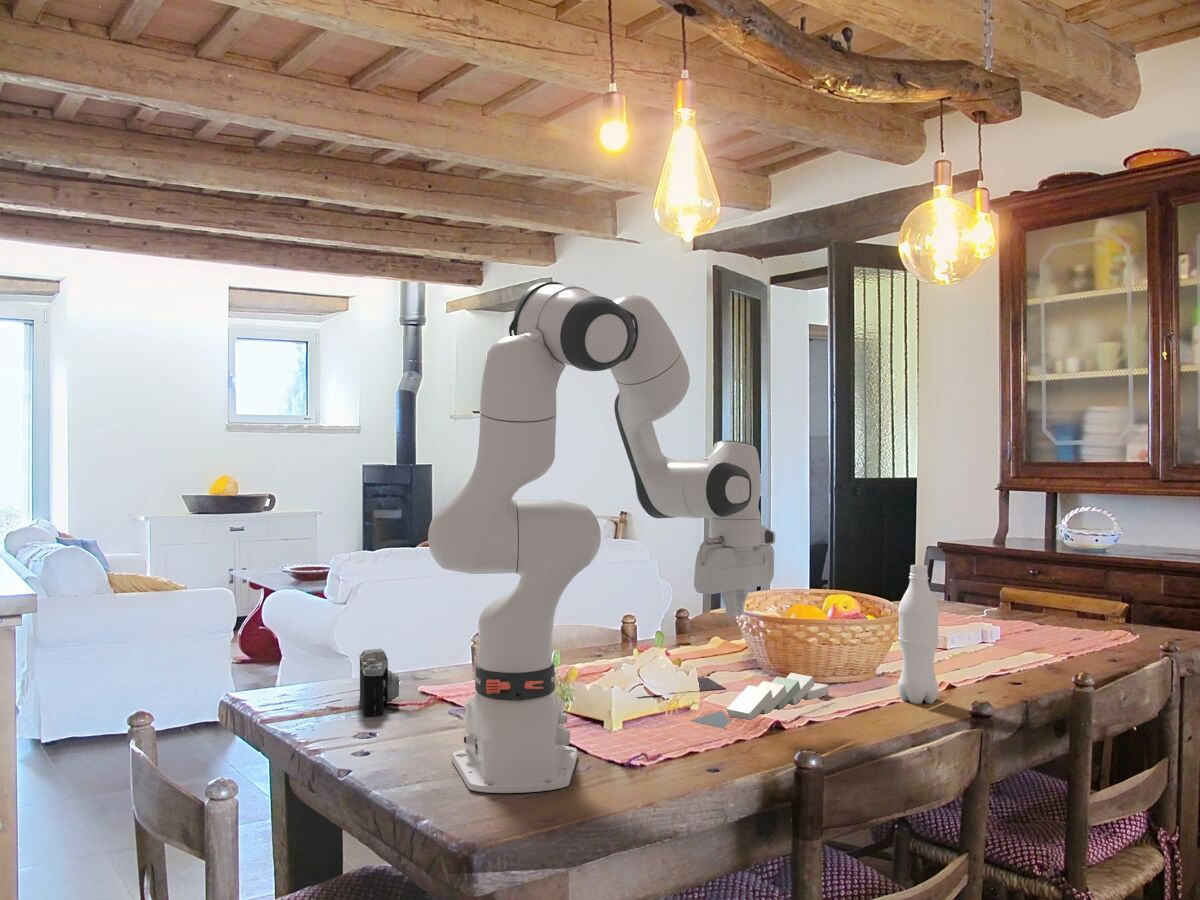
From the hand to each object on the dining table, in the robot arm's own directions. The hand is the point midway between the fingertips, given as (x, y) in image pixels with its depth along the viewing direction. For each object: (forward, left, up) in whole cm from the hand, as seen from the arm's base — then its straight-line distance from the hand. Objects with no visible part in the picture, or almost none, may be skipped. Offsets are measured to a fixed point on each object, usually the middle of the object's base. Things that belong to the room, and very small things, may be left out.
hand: (734, 615), depth 179 cm
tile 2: (0, -4, -17) cm, 17 cm away
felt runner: (+3, -6, -18) cm, 19 cm away
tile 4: (+6, -11, -17) cm, 21 cm away
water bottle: (+7, -36, -18) cm, 41 cm away
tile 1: (-2, 0, -17) cm, 17 cm away
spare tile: (+4, -7, -17) cm, 18 cm away
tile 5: (+9, -14, -17) cm, 24 cm away
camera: (+16, +61, -18) cm, 66 cm away
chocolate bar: (+22, +6, -18) cm, 29 cm away
